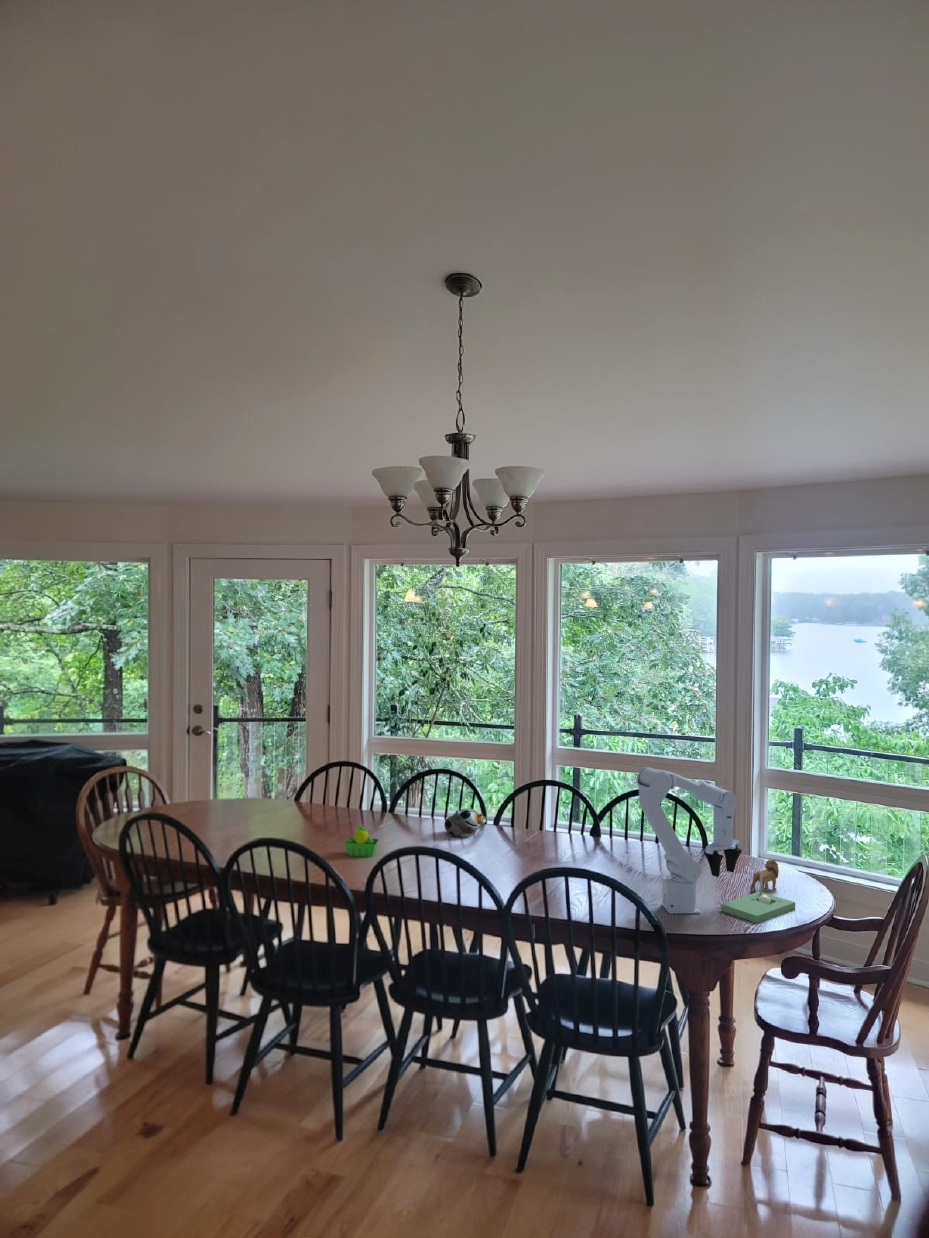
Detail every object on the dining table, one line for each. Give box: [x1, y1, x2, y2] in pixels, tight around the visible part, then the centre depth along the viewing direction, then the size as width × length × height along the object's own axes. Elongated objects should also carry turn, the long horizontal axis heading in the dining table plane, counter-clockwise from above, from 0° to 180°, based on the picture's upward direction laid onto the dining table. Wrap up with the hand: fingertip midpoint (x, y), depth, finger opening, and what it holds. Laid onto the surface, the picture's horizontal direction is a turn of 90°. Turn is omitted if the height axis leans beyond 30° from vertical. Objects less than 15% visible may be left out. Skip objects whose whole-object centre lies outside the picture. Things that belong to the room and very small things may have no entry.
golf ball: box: [759, 895, 771, 904], centre depth 235 cm, size 4×4×4 cm
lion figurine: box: [749, 858, 779, 894], centre depth 250 cm, size 15×5×9 cm, turn 135°
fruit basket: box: [344, 825, 379, 858], centre depth 285 cm, size 11×9×11 cm
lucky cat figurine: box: [443, 808, 487, 839], centre depth 315 cm, size 15×12×14 cm
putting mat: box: [720, 868, 796, 924], centre depth 233 cm, size 22×12×9 cm, turn 127°
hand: (722, 873), depth 237 cm, fingers open, 7 cm apart
